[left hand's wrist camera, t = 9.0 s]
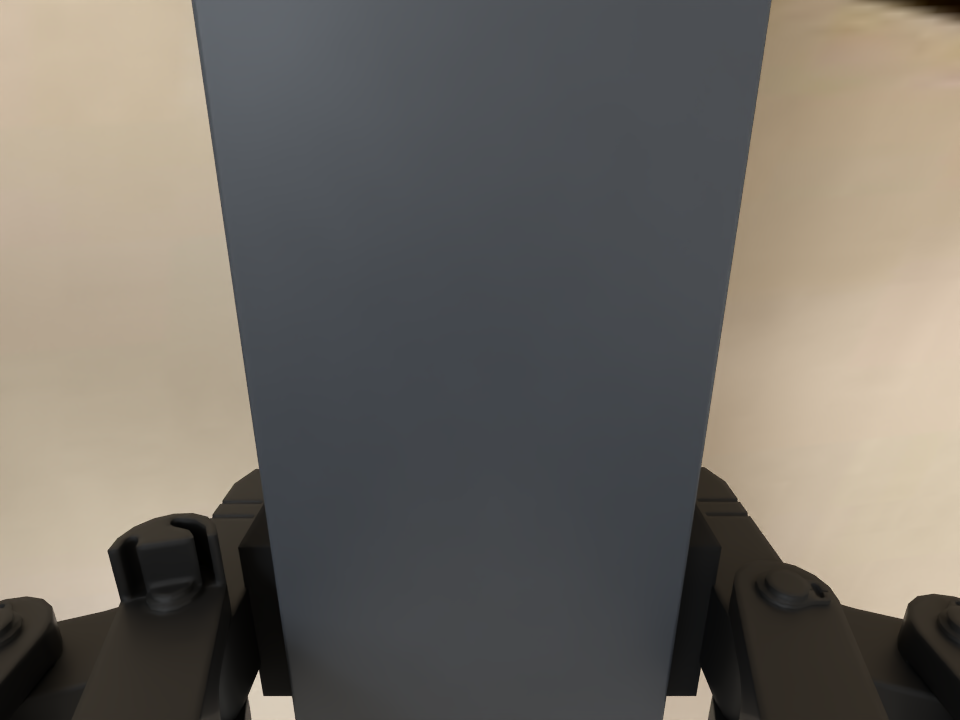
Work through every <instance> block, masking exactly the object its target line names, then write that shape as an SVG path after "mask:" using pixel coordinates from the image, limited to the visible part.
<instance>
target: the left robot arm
mask: <svg viewBox="0 0 960 720" xmlns="http://www.w3.org/2000/svg"><path fill="white" fill-rule="evenodd" d="M108 554H109V558H110V562H111V566H112V569H113V573H114V577H115V581H116V585H117V588H118V592H119V596H120V600H121V603H120V605H119V607H117V608H114V609H110V610H107V611H104V612H99V613H95V614H90V615H86V616H81V617H77V618H72V619H68V620H63V621H59V622H57V621H56V617H55V614H54V611H53V608H52V606H51V605H50V604H48V603H47V602H46V601H45V600H44V599H40V598H33V597H20V598H12V599H5V600H2V601H0V720H251V713H250V706H249V700H248V694H249V692H250V689H251V687H252V685H253V682H254V680H255V677H256V675H257V673H258V670H259V673H260V678H261V684H262V690H263V696H292V691H291V684H290V678H289V671H288V664H287V657H286V650H285V643H284V636H283V629H282V622H281V615H280V608H279V601H278V595H277V588H276V581H275V574H274V567H273V560H272V553H271V546H270V539H269V532H268V525H267V518H266V512H265V505H264V498H263V491H262V484H261V477H260V470H259V469H255V470H254V471H252V472H251V473H249V474H248V475H247V476H245V477H244V478H242V479H241V480H239V481H238V482H236V483H235V484H234V485H233V487H232V488H231V490H230V491H229V492H228V494H227V495H226V497H225V498H224V499H223V503H222V504H220V505H219V506H218V508H217V509H216V511H215V512H214V513H213V517H212V518H210V519H209V518H208V517H206V516H202V515H198V514H194V513H183V514H171V515H167V516H163V517H158V518H154V519H152V520H149V521H147V522H144V523H142V524H140V525H137V526H135V527H133V528H132V529H130V530H129V531H127V532H126V533H125V534H123V535H122V536H120V537H119V538H117V540H116V541H115V542H114V543H113V545H112V546H111V547H110V548H109V549H108ZM701 668H702V670H703V673H704V675H705V678H706V680H707V682H708V685H709V687H710V690H711V692H712V694H713V695H712V700H711V706H710V711H709V717H708V720H960V598H957V597H953V596H946V595H938V594H929V595H923V596H917V597H916V598H915V599H914V600H912V601H911V602H910V603H909V604H908V606H907V609H906V613H905V616H904V619H899V618H895V617H890V616H886V615H881V614H877V613H872V612H868V611H863V610H859V609H855V608H851V607H848V606H845V605H841V604H840V602H839V600H838V598H837V597H836V595H835V594H834V593H833V591H832V590H831V588H830V587H829V586H828V585H826V584H825V583H824V582H823V581H821V580H820V579H819V578H817V577H816V576H815V575H813V574H811V573H809V572H807V571H805V570H803V569H801V568H799V567H797V566H794V565H790V564H786V563H783V562H782V560H781V559H780V558H779V556H778V555H777V553H776V552H775V551H774V549H773V548H772V546H771V545H770V544H769V542H768V541H767V539H766V538H765V537H764V535H763V534H762V532H761V531H760V530H759V528H758V527H757V525H756V524H755V523H754V521H753V520H752V518H751V517H750V516H748V515H747V511H746V510H745V509H744V507H743V506H742V504H741V503H740V502H738V501H737V497H736V496H735V495H734V493H733V492H732V490H731V489H730V488H729V486H728V485H727V483H726V482H725V481H724V480H722V479H721V478H719V477H718V476H716V475H715V474H713V473H712V472H710V471H709V470H708V469H706V468H705V467H701V470H700V477H699V483H698V490H697V496H696V503H695V510H694V516H693V523H692V529H691V536H690V543H689V549H688V556H687V563H686V569H685V576H684V582H683V589H682V596H681V602H680V609H679V616H678V622H677V629H676V635H675V642H674V649H673V655H672V662H671V668H670V675H669V682H668V688H667V695H666V696H696V693H697V688H698V682H699V676H700V670H701Z"/></svg>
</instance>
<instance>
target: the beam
mask: <svg viewBox="0 0 960 720" xmlns="http://www.w3.org/2000/svg"><path fill="white" fill-rule="evenodd" d="M192 7H193V14H194V21H195V27H196V34H197V41H198V48H199V55H200V62H201V69H202V76H203V83H204V90H205V97H206V104H207V110H208V117H209V124H210V131H211V138H212V145H213V152H214V159H215V166H216V173H217V180H218V187H219V193H220V200H221V207H222V214H223V221H224V228H225V235H226V242H227V249H228V256H229V263H230V270H231V276H232V283H233V290H234V297H235V304H236V311H237V318H238V325H239V332H240V339H241V346H242V352H243V359H244V366H245V373H246V380H247V387H248V394H249V401H250V408H251V415H252V422H253V429H254V435H255V442H256V449H257V456H258V463H259V470H260V477H261V484H262V491H263V498H264V505H265V512H266V518H267V525H268V532H269V539H270V546H271V553H272V560H273V567H274V574H275V581H276V588H277V595H278V601H279V608H280V615H281V622H282V629H283V636H284V643H285V650H286V657H287V664H288V671H289V678H290V684H291V691H292V698H293V705H294V712H295V719H296V720H663V715H664V708H665V702H666V695H667V688H668V682H669V675H670V668H671V662H672V655H673V649H674V642H675V635H676V629H677V622H678V616H679V609H680V602H681V596H682V589H683V582H684V576H685V569H686V563H687V556H688V549H689V543H690V536H691V529H692V523H693V516H694V510H695V503H696V496H697V490H698V483H699V477H700V470H701V463H702V457H703V450H704V443H705V437H706V430H707V424H708V417H709V410H710V404H711V397H712V391H713V384H714V377H715V371H716V364H717V357H718V351H719V344H720V338H721V331H722V324H723V318H724V311H725V304H726V298H727V291H728V285H729V278H730V271H731V265H732V258H733V252H734V245H735V238H736V232H737V225H738V218H739V212H740V205H741V199H742V192H743V185H744V179H745V172H746V166H747V159H748V152H749V146H750V139H751V132H752V126H753V119H754V113H755V106H756V99H757V93H758V86H759V79H760V73H761V66H762V60H763V53H764V46H765V40H766V33H767V27H768V20H769V13H770V7H771V0H192Z"/></svg>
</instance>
